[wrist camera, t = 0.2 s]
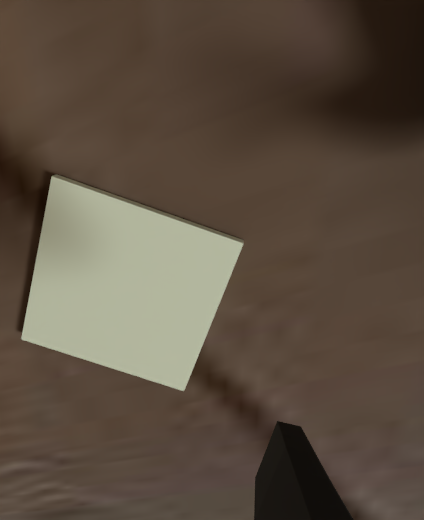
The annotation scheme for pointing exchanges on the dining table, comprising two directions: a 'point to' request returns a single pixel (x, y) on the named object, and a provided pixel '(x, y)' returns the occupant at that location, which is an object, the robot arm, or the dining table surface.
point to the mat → (125, 283)
